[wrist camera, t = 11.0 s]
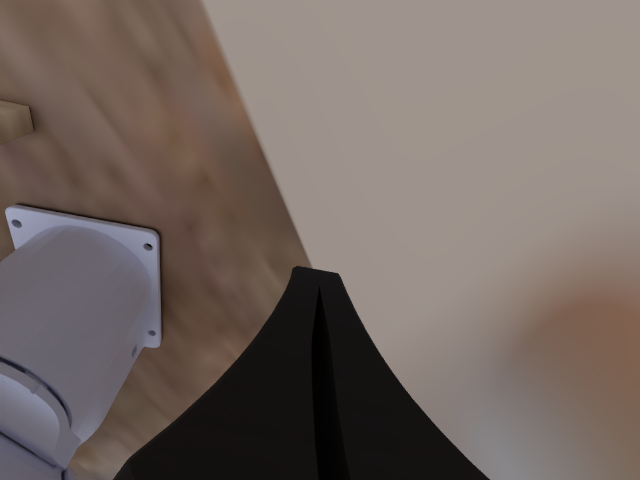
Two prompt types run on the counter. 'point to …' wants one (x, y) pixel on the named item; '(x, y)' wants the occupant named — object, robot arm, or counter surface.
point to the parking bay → (14, 121)
